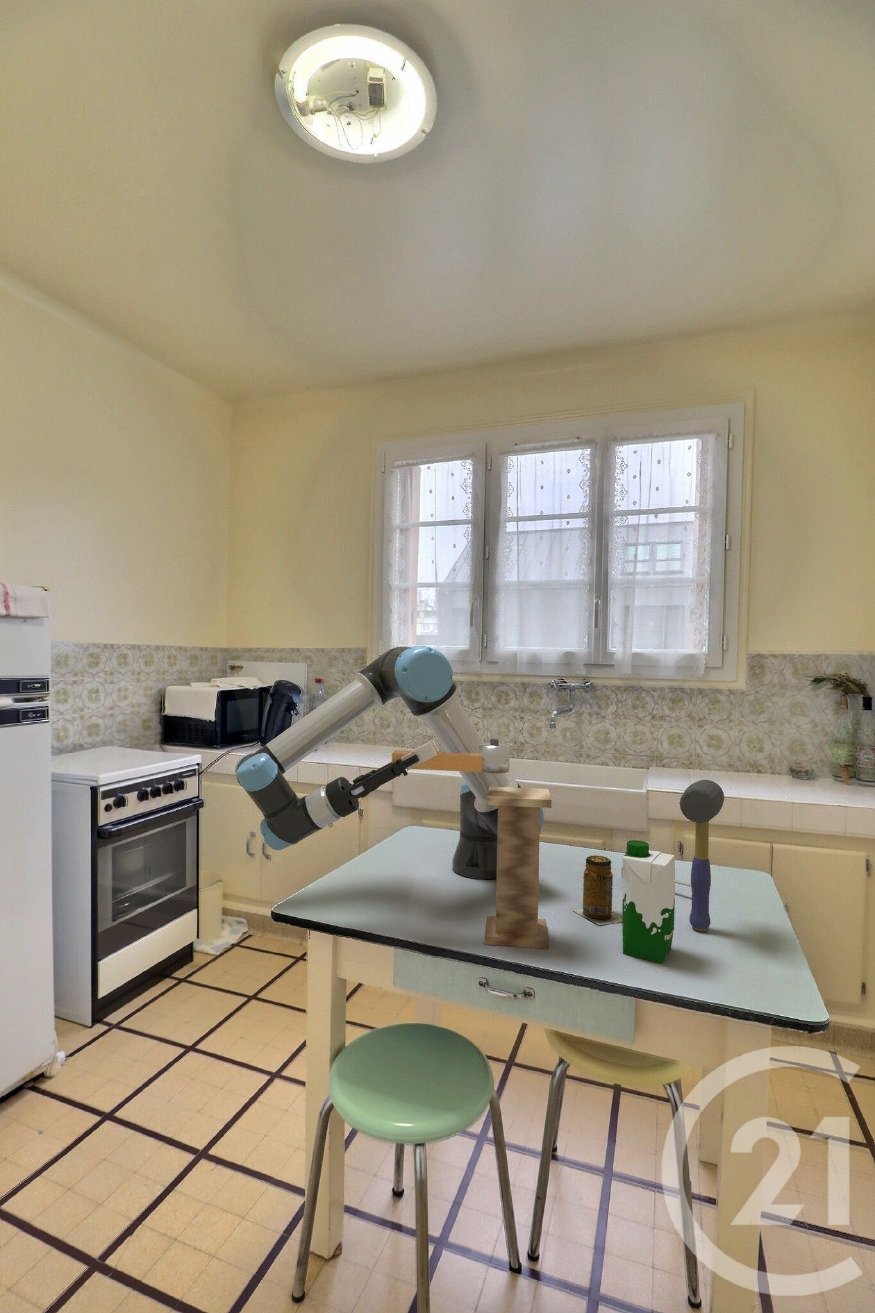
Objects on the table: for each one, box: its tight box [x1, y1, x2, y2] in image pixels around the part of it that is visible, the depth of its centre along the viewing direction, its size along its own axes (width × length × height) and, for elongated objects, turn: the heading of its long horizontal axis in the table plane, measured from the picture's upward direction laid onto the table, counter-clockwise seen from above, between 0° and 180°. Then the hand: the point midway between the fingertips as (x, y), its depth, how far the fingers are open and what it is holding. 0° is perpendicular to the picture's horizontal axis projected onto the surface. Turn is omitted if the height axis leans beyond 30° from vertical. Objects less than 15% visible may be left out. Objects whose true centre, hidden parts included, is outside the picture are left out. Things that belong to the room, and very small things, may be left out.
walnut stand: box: [484, 787, 552, 950], centre depth 128 cm, size 12×10×28 cm
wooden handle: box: [391, 737, 511, 774], centre depth 129 cm, size 23×6×6 cm, turn 84°
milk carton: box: [621, 839, 676, 964], centre depth 122 cm, size 9×9×20 cm
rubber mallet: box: [679, 779, 725, 932], centre depth 132 cm, size 12×8×30 cm, turn 149°
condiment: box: [573, 854, 622, 926], centre depth 138 cm, size 7×8×12 cm
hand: (434, 747), depth 129 cm, fingers closed on wooden handle, 4 cm apart
